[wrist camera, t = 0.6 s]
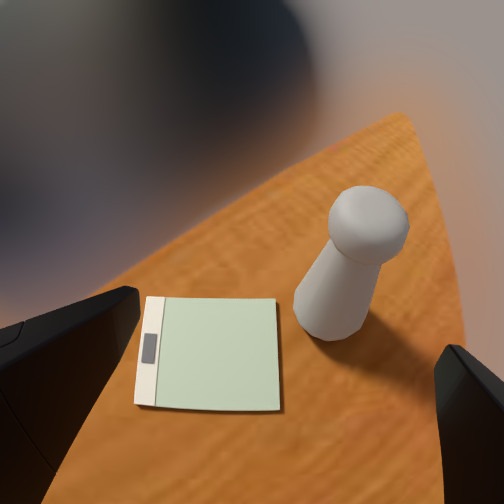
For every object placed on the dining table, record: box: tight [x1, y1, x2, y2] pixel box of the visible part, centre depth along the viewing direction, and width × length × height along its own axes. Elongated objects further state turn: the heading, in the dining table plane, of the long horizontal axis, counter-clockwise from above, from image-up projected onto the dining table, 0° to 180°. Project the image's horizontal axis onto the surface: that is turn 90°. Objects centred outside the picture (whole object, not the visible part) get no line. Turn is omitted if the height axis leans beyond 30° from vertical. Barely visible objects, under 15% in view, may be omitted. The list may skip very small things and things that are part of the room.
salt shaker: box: [293, 186, 410, 341], centre depth 20 cm, size 6×6×13 cm
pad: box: [134, 296, 280, 411], centre depth 23 cm, size 9×11×1 cm
